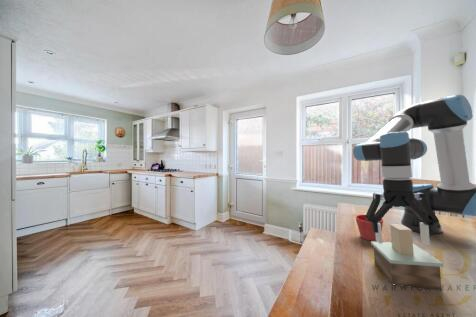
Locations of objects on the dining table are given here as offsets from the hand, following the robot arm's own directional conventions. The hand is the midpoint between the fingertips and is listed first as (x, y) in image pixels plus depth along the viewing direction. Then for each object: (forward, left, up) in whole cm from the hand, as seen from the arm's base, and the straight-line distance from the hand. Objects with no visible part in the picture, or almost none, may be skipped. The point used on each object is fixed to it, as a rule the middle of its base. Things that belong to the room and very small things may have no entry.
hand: (401, 243), depth 61 cm
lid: (0, 0, -4) cm, 4 cm away
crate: (0, 0, -11) cm, 11 cm away
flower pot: (-2, -30, -11) cm, 32 cm away
